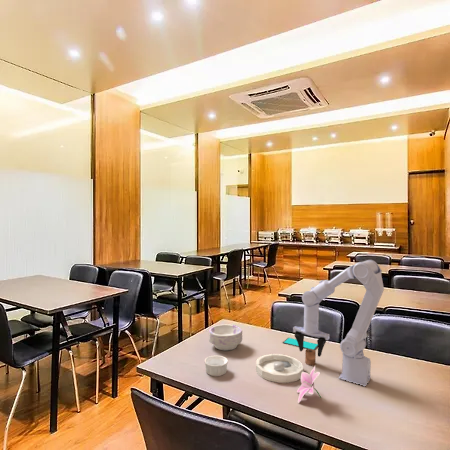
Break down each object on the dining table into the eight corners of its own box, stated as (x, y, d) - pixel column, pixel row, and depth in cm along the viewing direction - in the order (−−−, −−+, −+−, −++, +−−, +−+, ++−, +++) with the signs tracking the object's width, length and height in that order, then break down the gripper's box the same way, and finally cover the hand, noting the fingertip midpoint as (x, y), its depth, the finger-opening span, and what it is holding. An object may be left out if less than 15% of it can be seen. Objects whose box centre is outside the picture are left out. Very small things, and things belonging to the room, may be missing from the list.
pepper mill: (316, 362, 130) (317, 350, 130) (313, 366, 127) (313, 353, 127) (307, 360, 132) (307, 348, 132) (303, 363, 129) (303, 351, 129)
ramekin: (225, 378, 117) (225, 366, 116) (201, 375, 118) (201, 364, 118) (229, 367, 125) (229, 356, 125) (207, 365, 127) (207, 354, 127)
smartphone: (288, 337, 156) (318, 344, 148) (288, 339, 156) (318, 346, 148) (282, 342, 150) (314, 349, 142) (282, 344, 150) (314, 351, 142)
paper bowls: (203, 343, 149) (204, 326, 149) (233, 338, 155) (233, 322, 155) (216, 356, 135) (217, 337, 135) (248, 350, 142) (248, 332, 141)
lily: (304, 387, 113) (291, 364, 112) (335, 383, 107) (323, 359, 106) (296, 415, 103) (283, 390, 102) (331, 412, 97) (317, 386, 96)
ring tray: (309, 369, 124) (309, 362, 124) (290, 388, 110) (290, 380, 110) (269, 356, 135) (269, 350, 135) (247, 372, 121) (247, 365, 121)
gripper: (332, 321, 128) (331, 354, 129) (298, 314, 137) (297, 345, 137) (326, 325, 122) (325, 360, 123) (291, 318, 131) (290, 350, 131)
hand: (310, 353), depth 130 cm, fingers open, 7 cm apart
